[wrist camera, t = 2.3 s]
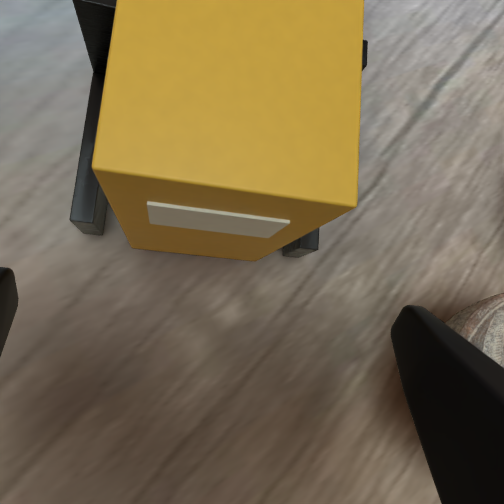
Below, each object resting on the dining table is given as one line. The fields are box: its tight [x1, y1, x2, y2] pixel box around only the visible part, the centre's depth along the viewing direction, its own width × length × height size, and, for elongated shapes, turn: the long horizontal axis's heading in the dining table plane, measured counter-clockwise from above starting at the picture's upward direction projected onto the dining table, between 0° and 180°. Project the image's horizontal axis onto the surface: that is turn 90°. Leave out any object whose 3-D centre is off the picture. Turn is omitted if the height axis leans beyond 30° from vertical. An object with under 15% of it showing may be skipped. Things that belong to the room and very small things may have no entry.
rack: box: [70, 0, 368, 258], centre depth 19 cm, size 8×12×8 cm
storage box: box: [92, 0, 364, 261], centre depth 16 cm, size 8×7×12 cm
